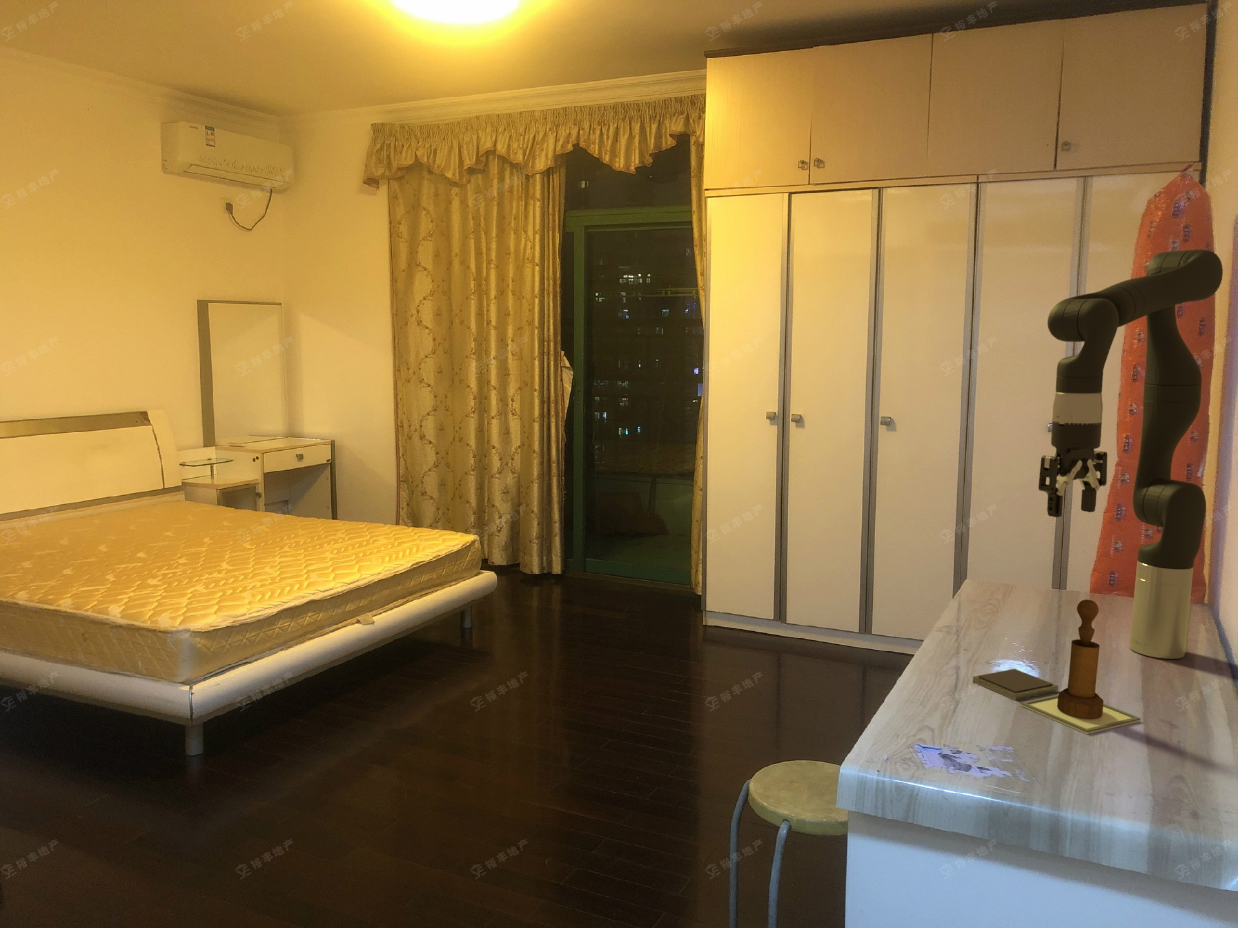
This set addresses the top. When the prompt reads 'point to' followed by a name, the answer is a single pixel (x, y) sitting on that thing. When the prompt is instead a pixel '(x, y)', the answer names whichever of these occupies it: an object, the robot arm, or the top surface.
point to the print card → (1087, 726)
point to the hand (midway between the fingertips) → (1071, 513)
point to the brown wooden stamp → (1083, 670)
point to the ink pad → (1015, 684)
